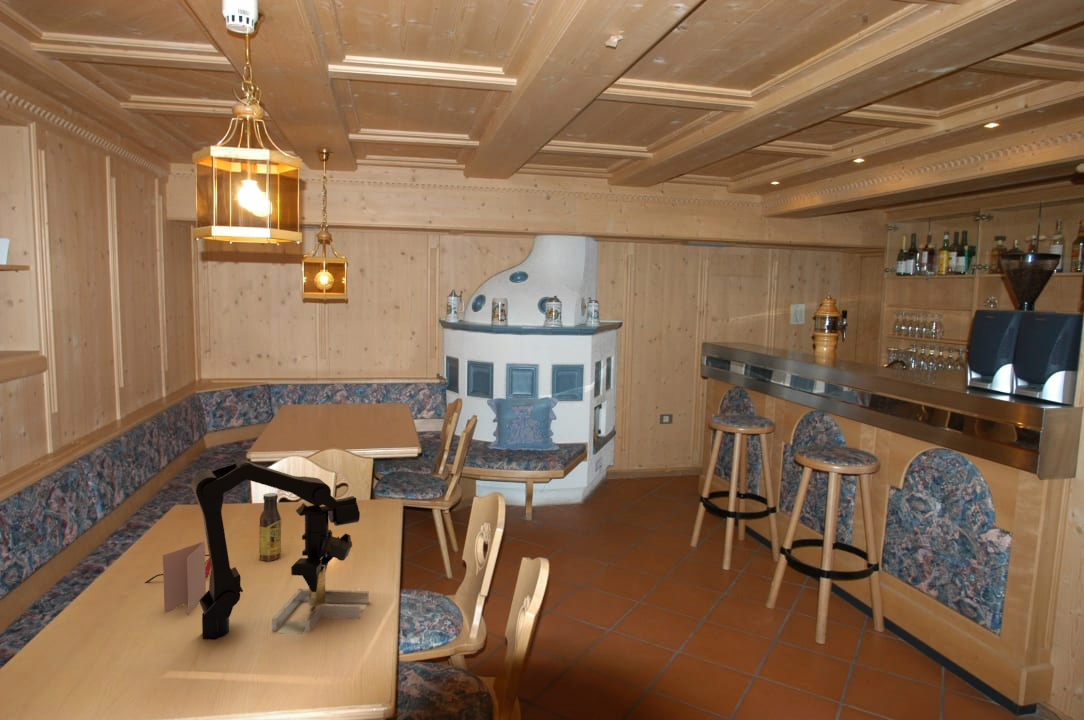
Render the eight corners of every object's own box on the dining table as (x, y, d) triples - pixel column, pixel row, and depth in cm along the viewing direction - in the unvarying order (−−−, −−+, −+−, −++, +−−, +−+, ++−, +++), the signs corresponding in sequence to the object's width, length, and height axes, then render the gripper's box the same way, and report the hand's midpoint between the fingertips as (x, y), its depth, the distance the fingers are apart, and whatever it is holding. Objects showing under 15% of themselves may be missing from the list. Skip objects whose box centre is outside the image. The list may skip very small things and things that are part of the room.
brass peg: (322, 606, 169) (322, 568, 168) (306, 606, 169) (306, 568, 168) (327, 599, 173) (327, 562, 172) (312, 599, 173) (312, 561, 172)
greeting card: (203, 594, 180) (202, 540, 178) (221, 601, 176) (220, 546, 175) (162, 611, 170) (160, 554, 168) (180, 618, 166) (179, 560, 165)
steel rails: (349, 633, 159) (349, 621, 158) (272, 630, 159) (271, 618, 159) (368, 602, 175) (368, 591, 175) (299, 599, 176) (298, 588, 175)
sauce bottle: (273, 562, 202) (272, 498, 200) (254, 560, 203) (254, 497, 201) (285, 554, 208) (285, 492, 206) (267, 552, 209) (267, 490, 207)
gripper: (336, 543, 160) (336, 606, 161) (359, 517, 178) (359, 574, 180) (289, 541, 160) (290, 604, 161) (317, 516, 178) (318, 572, 180)
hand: (317, 588), depth 170 cm, fingers closed on brass peg, 4 cm apart
